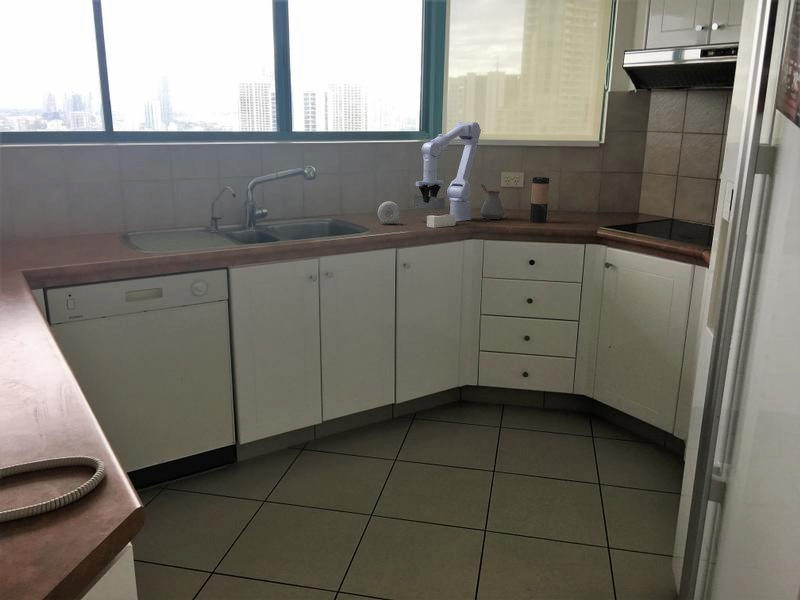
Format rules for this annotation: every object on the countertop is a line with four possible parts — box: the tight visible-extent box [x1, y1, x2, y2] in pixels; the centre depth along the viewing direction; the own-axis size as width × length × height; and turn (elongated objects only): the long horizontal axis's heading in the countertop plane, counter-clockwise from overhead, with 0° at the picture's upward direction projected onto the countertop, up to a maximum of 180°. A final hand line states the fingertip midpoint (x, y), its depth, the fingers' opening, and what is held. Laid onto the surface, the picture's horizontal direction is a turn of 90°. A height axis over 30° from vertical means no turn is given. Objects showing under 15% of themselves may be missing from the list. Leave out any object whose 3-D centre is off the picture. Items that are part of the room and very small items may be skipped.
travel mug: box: [529, 176, 550, 224], centre depth 304 cm, size 8×8×20 cm
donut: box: [377, 200, 401, 225], centre depth 291 cm, size 10×4×10 cm, turn 105°
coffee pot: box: [478, 183, 505, 220], centre depth 317 cm, size 21×12×15 cm, turn 14°
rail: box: [413, 193, 445, 211], centre depth 294 cm, size 4×16×5 cm, turn 39°
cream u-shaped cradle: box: [426, 213, 457, 229], centre depth 289 cm, size 12×5×4 cm, turn 129°
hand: (429, 202), depth 293 cm, fingers closed on rail, 3 cm apart
